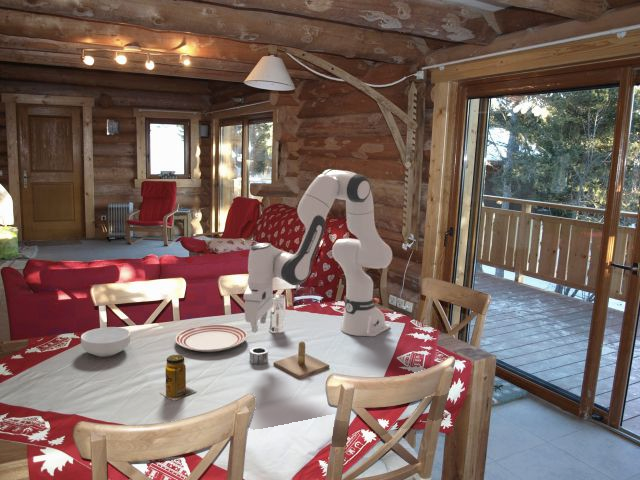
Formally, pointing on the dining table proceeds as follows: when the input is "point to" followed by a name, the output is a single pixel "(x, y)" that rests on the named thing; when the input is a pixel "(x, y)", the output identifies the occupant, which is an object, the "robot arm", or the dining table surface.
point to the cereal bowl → (105, 341)
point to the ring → (258, 356)
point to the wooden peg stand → (301, 364)
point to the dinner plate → (211, 337)
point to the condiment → (176, 378)
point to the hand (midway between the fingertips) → (259, 327)
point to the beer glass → (277, 313)
